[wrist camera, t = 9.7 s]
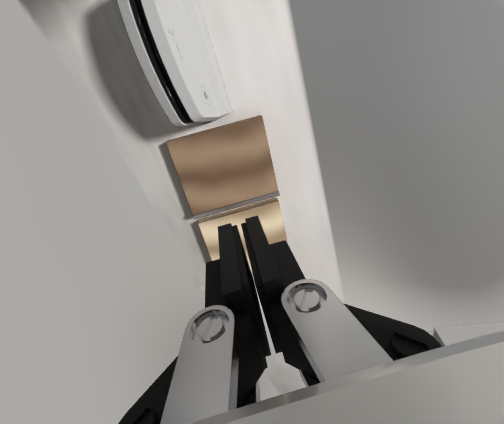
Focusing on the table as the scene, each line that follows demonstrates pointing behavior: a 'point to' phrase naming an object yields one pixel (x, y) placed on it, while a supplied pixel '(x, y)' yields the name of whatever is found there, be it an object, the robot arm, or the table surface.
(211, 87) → the white curved device
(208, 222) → the oak plank
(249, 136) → the walnut board
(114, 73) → the table surface
